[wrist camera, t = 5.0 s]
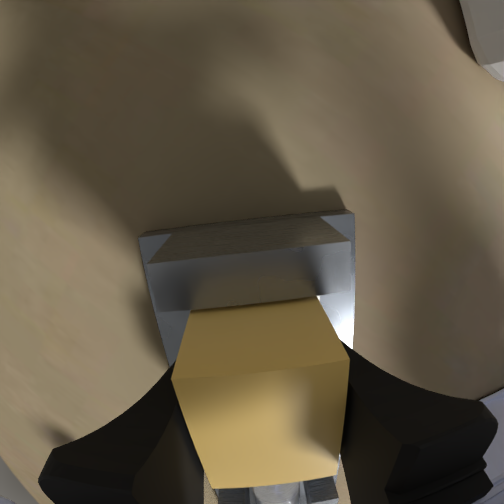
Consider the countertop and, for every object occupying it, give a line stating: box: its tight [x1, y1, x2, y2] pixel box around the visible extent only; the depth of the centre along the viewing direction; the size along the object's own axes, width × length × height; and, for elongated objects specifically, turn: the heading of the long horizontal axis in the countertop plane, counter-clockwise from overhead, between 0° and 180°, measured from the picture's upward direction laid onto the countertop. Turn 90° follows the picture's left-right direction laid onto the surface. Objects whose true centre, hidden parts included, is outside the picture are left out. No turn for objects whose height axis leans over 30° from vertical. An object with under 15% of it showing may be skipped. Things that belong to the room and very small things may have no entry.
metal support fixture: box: [138, 210, 355, 504], centre depth 15 cm, size 9×27×5 cm, turn 6°
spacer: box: [171, 296, 350, 489], centre depth 10 cm, size 4×5×6 cm
